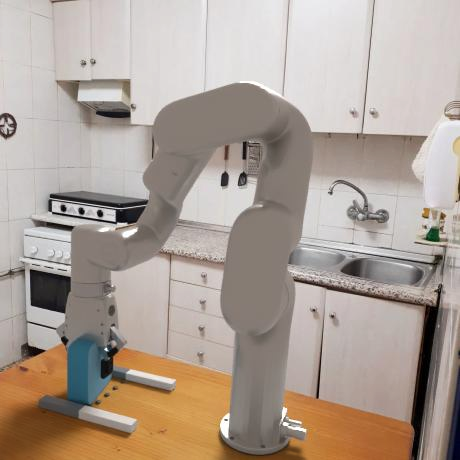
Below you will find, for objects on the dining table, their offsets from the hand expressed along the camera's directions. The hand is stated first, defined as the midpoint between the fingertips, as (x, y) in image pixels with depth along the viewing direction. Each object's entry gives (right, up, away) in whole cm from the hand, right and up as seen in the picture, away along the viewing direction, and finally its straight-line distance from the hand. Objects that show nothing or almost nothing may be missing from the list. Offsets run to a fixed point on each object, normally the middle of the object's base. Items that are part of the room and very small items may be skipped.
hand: (90, 371), depth 93 cm
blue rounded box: (0, -4, +1) cm, 5 cm away
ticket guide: (+4, -5, -1) cm, 7 cm away
